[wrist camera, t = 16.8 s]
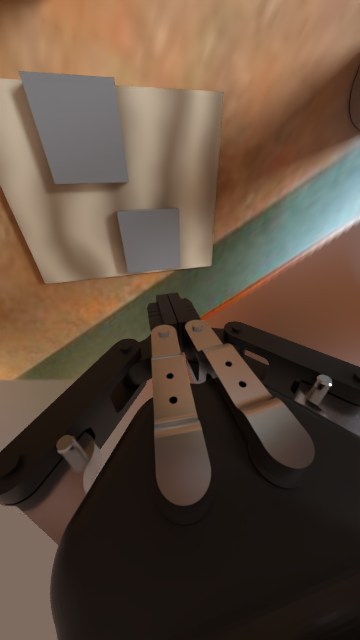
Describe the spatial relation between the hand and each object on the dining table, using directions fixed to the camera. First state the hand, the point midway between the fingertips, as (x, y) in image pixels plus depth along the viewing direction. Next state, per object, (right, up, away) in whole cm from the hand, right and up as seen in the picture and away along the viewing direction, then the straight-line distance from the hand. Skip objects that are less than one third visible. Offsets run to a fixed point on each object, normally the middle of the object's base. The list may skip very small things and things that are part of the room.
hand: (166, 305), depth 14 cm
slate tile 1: (-5, +19, +8) cm, 21 cm away
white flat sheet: (-7, +15, +13) cm, 21 cm away
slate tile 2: (+1, +11, +15) cm, 19 cm away
